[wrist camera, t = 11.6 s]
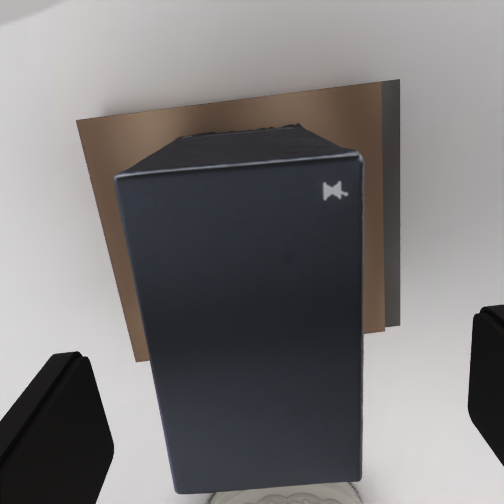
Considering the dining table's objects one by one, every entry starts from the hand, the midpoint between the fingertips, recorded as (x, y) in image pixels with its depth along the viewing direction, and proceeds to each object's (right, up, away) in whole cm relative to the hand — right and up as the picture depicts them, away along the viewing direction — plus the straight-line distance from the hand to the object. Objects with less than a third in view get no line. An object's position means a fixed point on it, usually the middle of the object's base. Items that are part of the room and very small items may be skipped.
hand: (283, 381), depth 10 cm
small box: (-1, +4, +11) cm, 12 cm away
